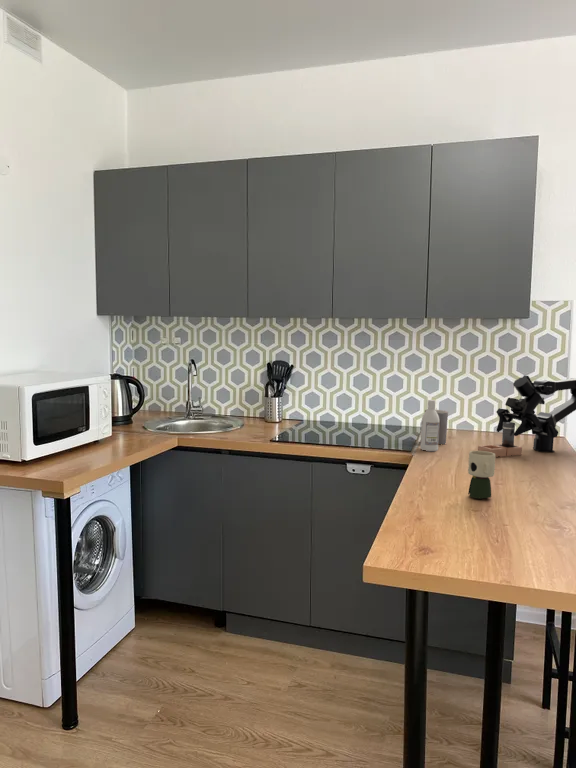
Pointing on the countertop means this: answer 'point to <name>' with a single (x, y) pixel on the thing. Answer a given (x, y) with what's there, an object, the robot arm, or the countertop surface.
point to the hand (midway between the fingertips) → (505, 433)
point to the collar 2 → (512, 450)
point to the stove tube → (508, 434)
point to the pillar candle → (442, 425)
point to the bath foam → (430, 428)
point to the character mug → (481, 473)
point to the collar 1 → (493, 449)
